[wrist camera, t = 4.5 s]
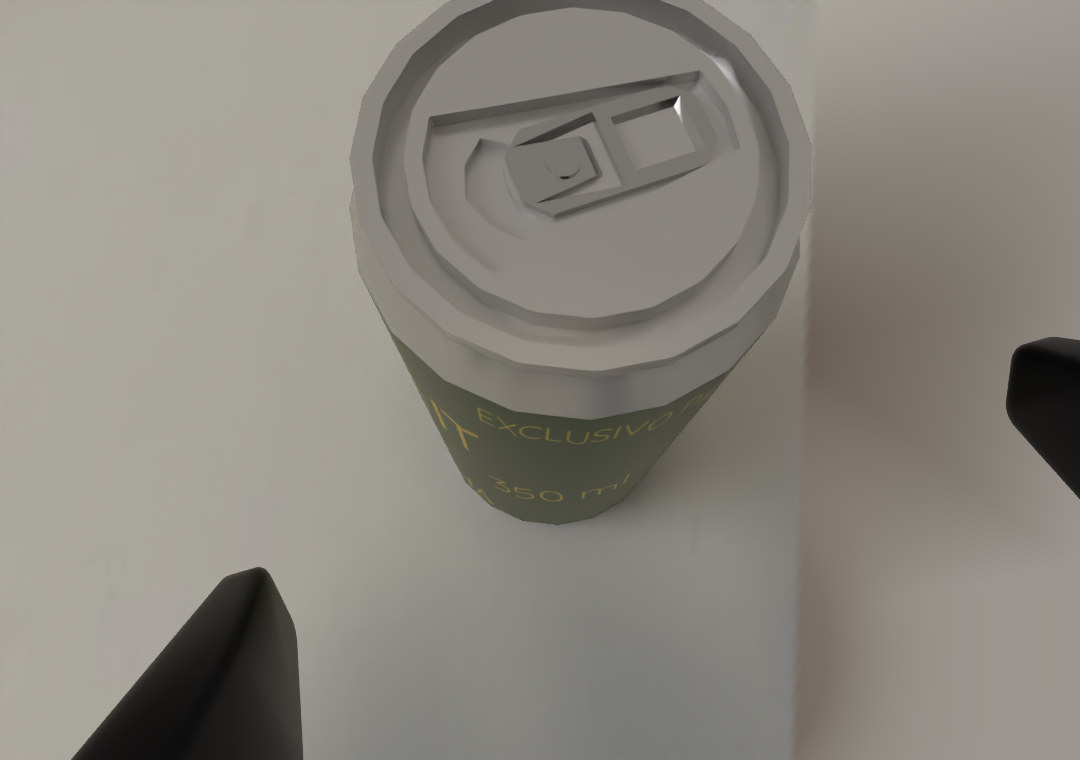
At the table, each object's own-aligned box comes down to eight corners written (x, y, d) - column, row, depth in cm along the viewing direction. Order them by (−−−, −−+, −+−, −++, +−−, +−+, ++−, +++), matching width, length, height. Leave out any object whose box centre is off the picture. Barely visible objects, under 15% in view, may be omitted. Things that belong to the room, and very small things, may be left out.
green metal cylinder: (609, 298, 21) (709, -98, 9) (689, 483, 19) (928, 290, 8) (420, 363, 20) (271, 26, 8) (487, 559, 18) (418, 473, 7)
